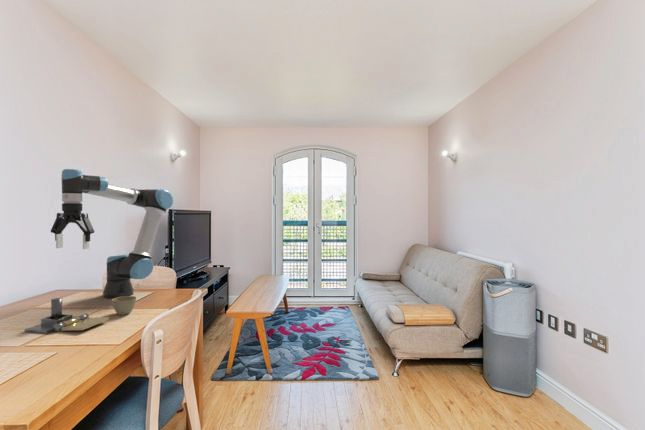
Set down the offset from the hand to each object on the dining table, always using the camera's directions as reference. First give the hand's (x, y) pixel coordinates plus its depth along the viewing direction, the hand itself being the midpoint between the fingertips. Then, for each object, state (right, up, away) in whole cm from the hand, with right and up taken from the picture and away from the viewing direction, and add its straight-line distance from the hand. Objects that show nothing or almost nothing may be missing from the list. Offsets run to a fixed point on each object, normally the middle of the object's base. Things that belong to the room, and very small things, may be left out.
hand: (72, 248), depth 151 cm
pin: (+4, -30, -14) cm, 33 cm away
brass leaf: (+16, -31, -16) cm, 38 cm away
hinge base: (+6, -31, -14) cm, 35 cm away
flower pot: (+22, -32, +3) cm, 39 cm away
